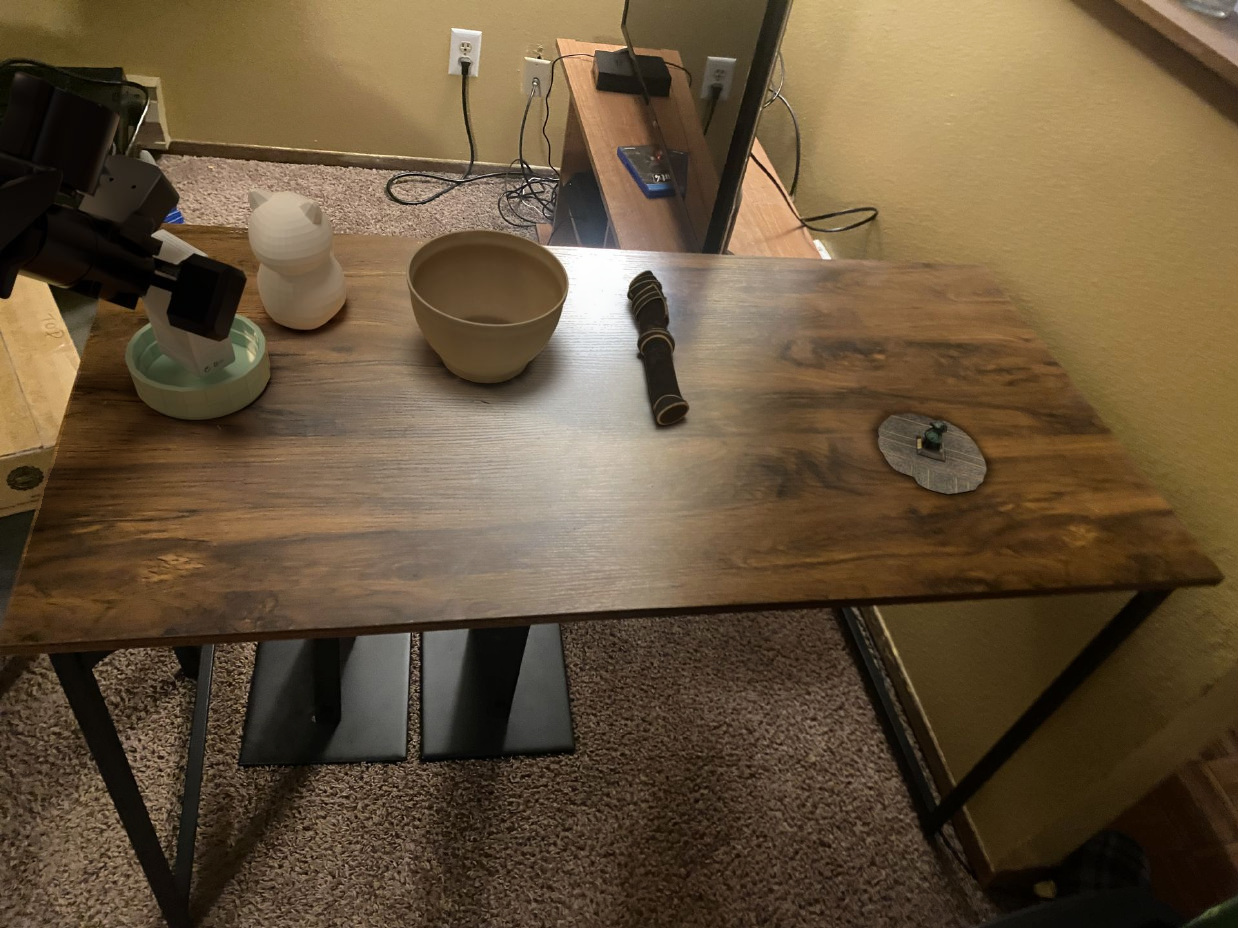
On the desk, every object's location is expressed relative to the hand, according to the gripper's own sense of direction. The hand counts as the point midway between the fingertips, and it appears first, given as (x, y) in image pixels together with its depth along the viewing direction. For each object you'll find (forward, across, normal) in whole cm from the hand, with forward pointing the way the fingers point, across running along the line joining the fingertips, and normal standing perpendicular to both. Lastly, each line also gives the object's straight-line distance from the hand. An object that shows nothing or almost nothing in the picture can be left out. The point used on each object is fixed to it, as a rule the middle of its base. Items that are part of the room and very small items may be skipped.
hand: (192, 294), depth 77 cm
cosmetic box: (+4, 0, +6) cm, 7 cm away
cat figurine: (+16, -2, -3) cm, 17 cm away
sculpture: (+23, -72, -10) cm, 77 cm away
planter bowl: (+17, -23, -4) cm, 29 cm away
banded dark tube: (+24, -39, -11) cm, 47 cm away
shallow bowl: (+6, 0, +8) cm, 10 cm away
